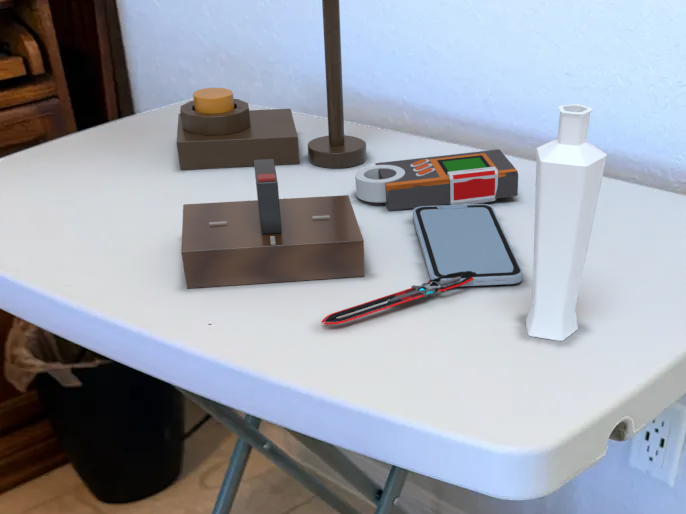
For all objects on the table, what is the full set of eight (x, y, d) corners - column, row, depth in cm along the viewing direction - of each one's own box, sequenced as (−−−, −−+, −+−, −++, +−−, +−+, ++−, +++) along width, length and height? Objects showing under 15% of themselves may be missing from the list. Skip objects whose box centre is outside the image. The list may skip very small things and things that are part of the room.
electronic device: (350, 162, 88) (503, 145, 90) (352, 193, 90) (502, 175, 92) (361, 186, 83) (522, 168, 85) (363, 219, 85) (521, 200, 87)
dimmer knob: (258, 209, 77) (253, 156, 74) (277, 207, 77) (273, 155, 74) (261, 234, 73) (256, 179, 70) (281, 233, 73) (277, 178, 70)
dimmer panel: (186, 288, 72) (180, 249, 70) (188, 238, 80) (182, 202, 78) (364, 276, 74) (363, 238, 72) (349, 229, 82) (348, 193, 80)
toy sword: (315, 321, 68) (314, 313, 67) (467, 272, 73) (468, 264, 73) (328, 333, 66) (328, 324, 66) (482, 281, 72) (483, 274, 72)
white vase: (504, 325, 68) (521, 106, 58) (549, 309, 70) (573, 95, 60) (546, 349, 65) (571, 124, 55) (592, 332, 67) (624, 112, 57)
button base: (180, 170, 93) (173, 123, 90) (182, 139, 101) (175, 95, 98) (299, 163, 95) (296, 117, 92) (292, 134, 102) (289, 90, 99)
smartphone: (432, 280, 72) (411, 206, 83) (432, 290, 72) (410, 215, 84) (526, 275, 72) (492, 203, 84) (525, 285, 73) (491, 212, 84)
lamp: (302, 173, 93) (279, -158, 76) (295, 148, 99) (274, -164, 82) (381, 169, 94) (376, -159, 77) (370, 144, 100) (364, -164, 83)
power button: (195, 117, 93) (192, 99, 92) (195, 106, 96) (192, 88, 95) (235, 115, 94) (233, 97, 93) (234, 104, 97) (232, 86, 96)
